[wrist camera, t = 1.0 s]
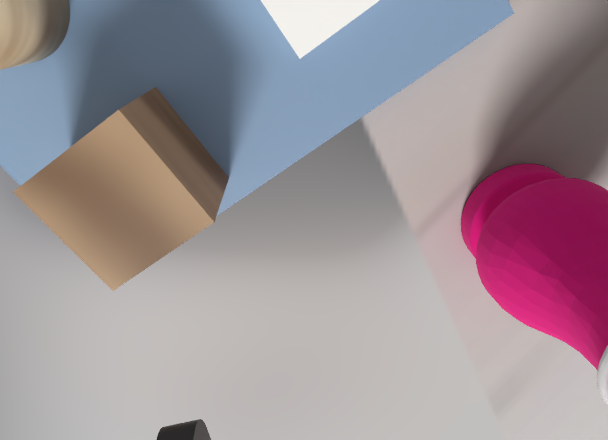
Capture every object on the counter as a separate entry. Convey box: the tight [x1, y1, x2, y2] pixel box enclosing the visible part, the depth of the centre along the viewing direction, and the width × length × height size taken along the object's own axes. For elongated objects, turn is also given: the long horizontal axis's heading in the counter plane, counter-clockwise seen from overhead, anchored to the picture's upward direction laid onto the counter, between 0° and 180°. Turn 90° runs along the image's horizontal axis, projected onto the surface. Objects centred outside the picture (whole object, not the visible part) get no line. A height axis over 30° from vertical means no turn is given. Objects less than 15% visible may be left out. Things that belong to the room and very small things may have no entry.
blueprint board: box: [0, 0, 514, 215], centre depth 22 cm, size 24×16×2 cm, turn 125°
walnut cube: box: [14, 87, 229, 290], centre depth 22 cm, size 6×6×6 cm
